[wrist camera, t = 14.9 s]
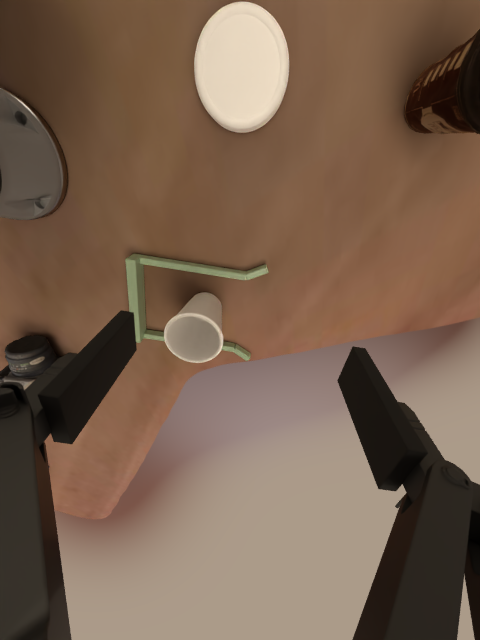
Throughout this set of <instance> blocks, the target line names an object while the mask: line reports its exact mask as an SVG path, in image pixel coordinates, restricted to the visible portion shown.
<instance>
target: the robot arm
mask: <svg viewBox="0 0 480 640" xmlns="http://www.w3.org/2000/svg"><path fill="white" fill-rule="evenodd" d="M67 183H68V176H67V167H66V162H65V159H64V155H63V152H62V150H61V147H60V145H59V143H58V141H57V139H56V137H55V135H54V133H53V132H52V130H51V129H50V127H49V126H48V124H47V123H46V122H45V120H44V119H43V118H42V117H41V116H40V114H39V113H38V112H37V111H36V110H35V109H34V108H33V107H32V106H30V105H29V104H28V103H27V102H26V101H24V100H23V99H22V98H20V97H19V96H17V95H16V94H14V93H12V92H10V91H8V90H6V89H4V88H1V87H0V217H4V218H10V219H16V220H32V219H37V218H42V217H45V216H48V215H50V214H52V213H53V212H54V211H56V210H57V209H58V208H59V206H60V205H61V204H62V202H63V200H64V197H65V195H66V191H67ZM136 350H137V349H136V335H135V321H134V312H127V311H120V312H119V313H118V314H117V315H116V316H115V317H114V318H113V319H112V320H111V321H110V322H109V323H108V324H107V325H106V326H105V327H104V328H103V329H102V330H101V331H100V332H99V333H98V334H97V335H96V336H95V337H94V338H93V339H92V340H91V341H90V342H89V343H88V344H87V345H86V346H85V347H84V348H83V349H82V350H81V351H80V352H79V353H78V354H75V353H68V354H66V355H64V356H62V357H60V358H58V359H57V360H56V361H55V362H54V363H53V364H52V365H51V366H50V368H48V369H47V370H45V371H44V372H43V374H41V375H40V376H39V377H38V378H37V379H36V380H35V381H34V382H33V383H32V384H30V385H29V386H28V387H27V388H26V389H25V390H24V387H23V385H22V384H20V383H18V382H10V381H9V382H3V383H0V640H71V634H70V626H69V618H68V611H67V603H66V595H65V589H64V580H63V573H62V565H61V558H60V550H59V543H58V535H57V527H56V520H55V512H54V505H53V497H52V490H51V482H50V475H49V467H48V460H47V452H46V445H45V443H44V441H45V439H46V438H47V437H48V436H49V434H50V433H51V435H52V438H53V441H54V442H60V443H67V444H73V442H74V441H75V439H76V438H77V436H78V435H79V433H80V432H81V431H82V429H83V428H84V426H85V425H86V423H87V422H88V420H89V419H90V417H91V416H92V414H93V413H94V411H95V410H96V409H97V407H98V406H99V404H100V403H101V401H102V400H103V398H104V397H105V395H106V394H107V392H108V391H109V390H110V388H111V387H112V385H113V384H114V382H115V381H116V379H117V378H118V376H119V375H120V373H121V372H122V370H123V369H124V368H125V366H126V365H127V363H128V362H129V360H130V359H131V357H132V356H133V354H134V353H135V351H136ZM338 383H339V386H340V389H341V391H342V394H343V397H344V399H345V402H346V404H347V407H348V409H349V412H350V415H351V418H352V420H353V423H354V425H355V428H356V431H357V434H358V436H359V439H360V442H361V444H362V447H363V449H364V452H365V455H366V457H367V460H368V463H369V465H370V468H371V471H372V473H373V476H374V479H375V481H376V484H377V486H378V489H383V490H390V491H396V490H397V489H398V488H399V487H400V486H401V485H402V484H403V486H404V488H405V490H406V492H407V493H406V494H405V495H404V497H403V498H402V499H401V500H400V501H399V502H398V503H397V505H396V506H395V507H396V508H399V507H400V508H399V510H398V513H397V516H396V519H395V522H394V524H393V527H392V530H391V533H390V536H389V538H388V541H387V544H386V547H385V550H384V553H383V555H382V558H381V561H380V564H379V567H378V570H377V573H376V575H375V578H374V581H373V583H372V586H371V590H370V592H369V595H368V598H367V600H366V603H365V606H364V609H363V612H362V614H361V617H360V620H359V623H358V626H357V629H356V631H355V634H354V637H353V640H457V634H458V625H459V616H460V606H461V598H462V589H463V579H464V574H465V580H466V586H467V593H468V599H469V605H470V611H471V618H472V625H473V631H474V637H475V640H480V485H479V484H476V483H474V482H472V481H471V480H470V479H469V477H468V476H467V475H466V474H465V473H464V472H463V470H461V469H460V468H459V467H457V466H456V465H455V464H453V463H451V462H449V461H446V460H445V459H444V458H443V457H442V455H441V453H440V452H439V450H438V449H437V447H436V445H435V444H434V443H433V441H432V439H431V438H430V436H429V435H428V433H427V432H426V431H425V428H424V427H423V425H422V424H421V423H420V421H419V420H418V418H417V416H416V415H415V413H414V412H413V411H412V410H411V409H410V408H409V407H408V406H407V405H406V404H405V403H401V402H397V400H396V399H395V397H394V395H393V394H392V392H391V390H390V389H389V387H388V385H387V384H386V382H385V380H384V379H383V377H382V376H381V374H380V372H379V370H378V369H377V367H376V366H375V364H374V362H373V360H372V359H371V357H370V356H369V354H368V352H367V351H366V349H365V348H359V347H352V350H351V352H350V354H349V356H348V358H347V361H346V363H345V365H344V367H343V369H342V372H341V374H340V376H339V379H338Z"/></svg>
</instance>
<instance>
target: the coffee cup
mask: <svg viewBox="0 0 480 640" xmlns="http://www.w3.org/2000/svg"><path fill="white" fill-rule="evenodd" d="M404 114H405V118H406V121H407V123H408V125H409V126H410V128H411V129H412V130H414V131H416V132H420V133H441V134H448V133H469V132H470V133H474V132H475V133H477V134H480V29H479V30H478V32H477V33H476V34H475V35H474V36H473V37H472V38H471V39H470V40H468V41H467V42H466V43H464V44H463V45H460V46H458V47H457V48H455V49H454V50H453V51H452V52H451V53H450V54H449V55H448V56H447V57H445V58H444V59H442V60H440V61H438V62H437V63H435V64H432V65H430V66H429V67H428V68H427V69H425V70H424V71H423V72H422V74H421V75H420V76H419V77H418V79H417V80H416V81H415V83H414V85H413V87H412V88H411V90H410V92H409V94H408V97H407V100H406V104H405V112H404Z"/></svg>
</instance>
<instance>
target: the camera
mask: <svg viewBox="0 0 480 640" xmlns="http://www.w3.org/2000/svg"><path fill="white" fill-rule="evenodd" d="M5 353H6V356H5V357H6V359H7V361H8V363H9V365H8V366H7V367H5V368H4V369H3V370H1V371H0V383H3V382H9V381H10V382H18V383H20V384H22V385H23V387H24V390H25V389H26V388H27V387H28V386H29V385H30V384H32V383H33V382H34V381H35V380H36V379H37V378H38V377H39V376H40V375H41V374H43V372H44V371H45V370H47V369H48V368H50V366H51V365H52V364H53V363H54V362H55V361H56V360H57V359H58V358H60V357H59V356H57V355H55V353H54V350H53V348H52V347H51V345H50V344H49V342H48V340H47V338H45V337H43V336H39V335H34V336H26V337H23V338H21V339H19V340H15V341H13V342H12V343H10V344H9V345H7V347H6V348H5Z"/></svg>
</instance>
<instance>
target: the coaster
mask: <svg viewBox="0 0 480 640" xmlns="http://www.w3.org/2000/svg"><path fill="white" fill-rule="evenodd" d="M194 74H195V82H196V87H197V91H198V94H199V97H200V99H201V102H202V104H203V105H204V107H205V109H206V110H207V112H208V113H209V114H210V116H211V117H212V118H213V119H214V120H215V121H216V122H217V123H218V124H219V125H221V126H222V127H224V128H225V129H227V130H230V131H233V132H238V133H246V132H251V131H254V130H257V129H259V128H260V127H262V126H264V125H265V124H266V123H267V122H268V121H269V120H270V119H271V118H272V117H273V116H274V114H275V113H276V112H277V110H278V108H279V106H280V104H281V102H282V100H283V97H284V94H285V90H286V87H287V83H288V76H289V53H288V47H287V43H286V39H285V37H284V34H283V32H282V30H281V28H280V26H279V24H278V23H277V21H276V20H275V19H274V17H273V16H272V15H271V14H270V13H269V12H268V11H266V10H265V9H264V8H262V7H260V6H258V5H256V4H254V3H250V2H235V3H231V4H228V5H226V6H224V7H223V8H221V9H220V10H218V11H217V12H216V13H215V14H214V15H213V16H212V17H211V18H210V19H209V21H208V22H207V23H206V25H205V27H204V28H203V30H202V32H201V35H200V37H199V40H198V43H197V47H196V52H195V60H194Z"/></svg>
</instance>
